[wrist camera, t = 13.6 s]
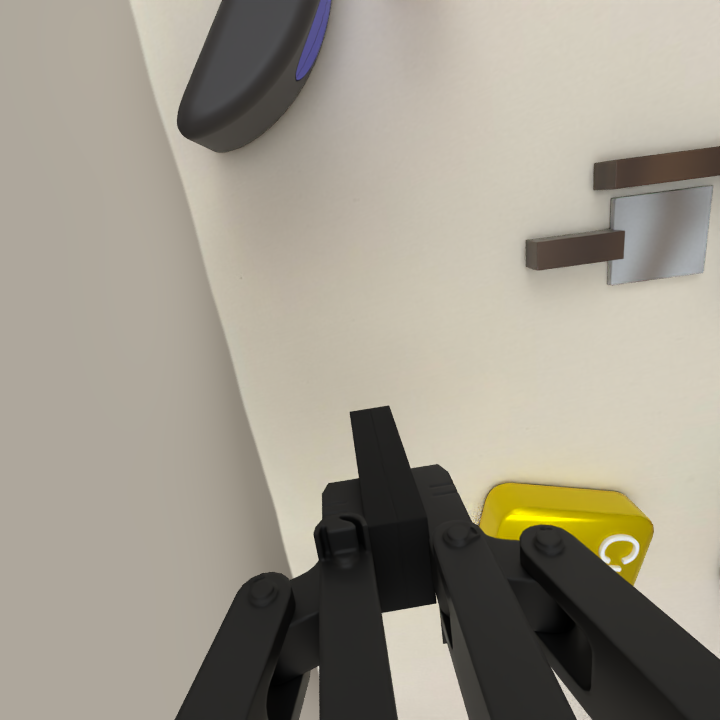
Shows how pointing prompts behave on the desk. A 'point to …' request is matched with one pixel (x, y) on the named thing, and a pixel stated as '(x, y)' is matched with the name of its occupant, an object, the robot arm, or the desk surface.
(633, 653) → the robot arm
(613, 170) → the corner stop
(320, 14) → the leaning round-cornered charcoal block
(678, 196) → the spatula
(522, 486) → the element tile
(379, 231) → the desk surface
